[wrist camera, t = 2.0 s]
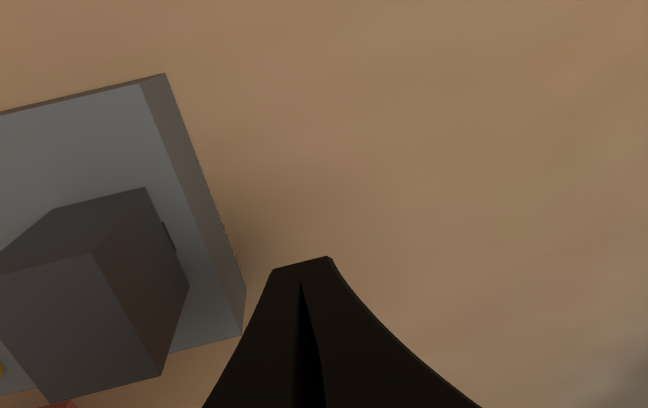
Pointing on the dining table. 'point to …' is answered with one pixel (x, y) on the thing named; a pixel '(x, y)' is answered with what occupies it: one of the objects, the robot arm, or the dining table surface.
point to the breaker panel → (116, 177)
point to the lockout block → (61, 405)
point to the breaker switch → (91, 296)
